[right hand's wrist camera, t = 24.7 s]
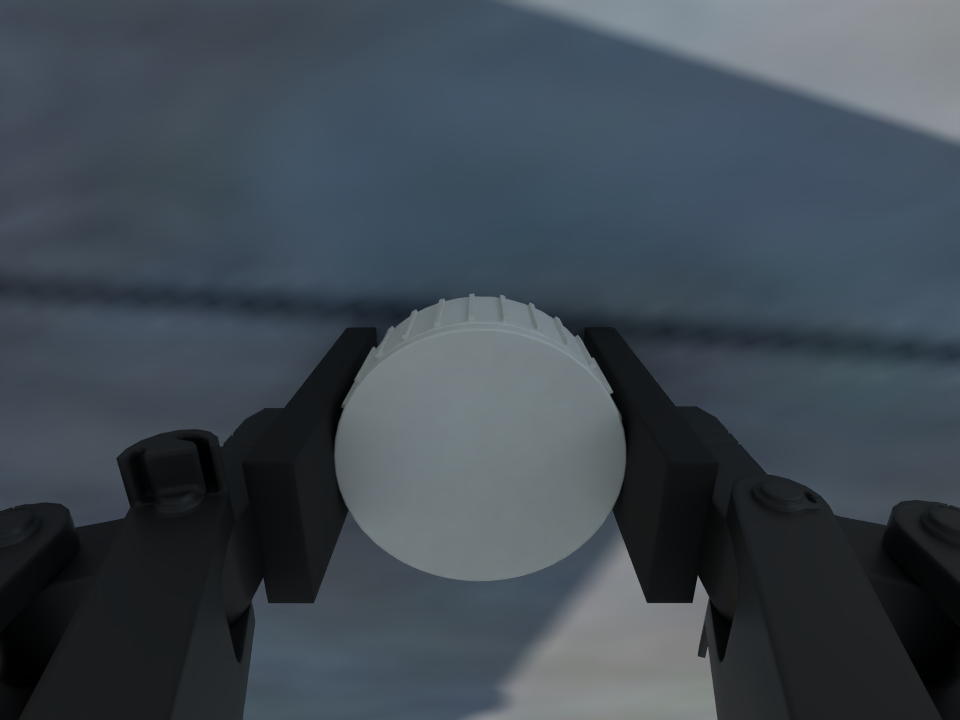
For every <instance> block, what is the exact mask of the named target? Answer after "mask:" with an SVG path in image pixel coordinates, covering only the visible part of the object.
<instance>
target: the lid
mask: <svg viewBox="0 0 960 720" xmlns="http://www.w3.org/2000/svg"><path fill="white" fill-rule="evenodd" d="M354 381H355V382H354V384H353V385H352V387H351V389H350V391H349V393H348V394H347V396H346V398H345V400H344V402H343V404H342V406H341V408H344V410H343V412H342V415H341V417H340V420H339V422H338V427H337V431H336V436H335V444H334V462H335V471H336V477H337V482H338V486H339V489H340V492H341V494H342V497H343V499H344V502H345V504H346V506H347V508H348V510H349V511H350V513H351V515H352V516H353V518H354V520H355V521H356V522H357V523H358V525H359V526H360V527H361V529H362V530H363V531H364V532H365V533H366V534H367V535H368V536H369V537H370V538H371V539H372V540H373V541H374V542H375V543H376V544H377V545H378V546H380V547H381V548H382V549H383V550H385V551H386V552H387V553H389V554H390V555H392V556H393V557H395V558H397V559H398V560H400V561H402V562H403V563H405V564H408V565H410V566H412V567H414V568H416V569H418V570H421V571H424V572H427V573H430V574H433V575H437V576H441V577H445V578H450V579H457V580H465V581H494V580H504V579H510V578H515V577H520V576H523V575H527V574H530V573H533V572H537V571H539V570H541V569H544V568H546V567H548V566H551V565H553V564H555V563H557V562H558V561H560V560H562V559H564V558H566V557H567V556H569V555H570V554H571V553H573V552H574V551H576V550H577V549H578V548H580V547H581V546H582V545H583V544H584V543H585V542H586V541H588V540H589V539H590V538H591V537H592V536H593V535H594V534H595V532H596V531H597V530H598V529H599V528H600V527H601V525H602V524H603V523H604V521H605V520H606V518H607V517H608V515H609V514H610V512H611V511H612V509H613V507H614V505H615V502H616V500H617V498H618V496H619V494H620V490H621V487H622V484H623V480H624V475H625V468H626V457H627V454H626V439H625V433H624V428H623V425H622V420H623V419H622V416H621V414H620V412H619V410H618V408H617V407H616V405H615V403H614V401H613V399H612V397H611V396H610V394H611V393H613V391H612V389H611V387H610V385H609V384H608V382H607V380H606V378H605V376H604V375H603V373H602V371H601V369H600V368H599V366H598V364H597V362H596V361H595V359H594V357H593V358H591V356H590V354H589V353H588V351H587V349H586V347H585V345H584V344H583V342H582V340H581V338H580V337H579V336H578V335H577V336H575V337H574V336H573V335H572V334H571V333H570V332H569V331H568V329H566V328H565V327H564V326H563V325H562V323H561V321H560V319H559V318H558V317H555V318H552V317H550V316H549V315H547V314H545V313H544V312H542V311H540V310H538V309H535V306H534V304H532V303H529V305H526V304H523V303H520V302H516V301H513V300H509V299H505V296H504V295H500V298H497V297H479V296H475V294H469V297H464V298H456V299H452V300H448V301H445V299H444V298H443V299H440V300H439V303H437V304H435V305H432V306H429V307H427V308H424V309H423V310H421V311H419V312H418V311H417V310H414V311H412V313H411V315H410V317H408V318H407V319H406V320H404V321H403V322H401V323H400V324H399V325H397V326H396V327H395V328H394V327H393V326H391V327H390V328H389V329H388V331H387V333H386V335H385V337H384V339H383V341H382V342H381V343H380V345H379V346H378V347H377V348H375V347H373V348H372V349H371V351H370V353H369V355H368V356H367V358H366V360H365V362H364V364H363V365H362V367H361V369H360V371H359V372H358V374H357V376H356V378H355V380H354Z"/></svg>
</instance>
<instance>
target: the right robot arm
mask: <svg viewBox="0 0 960 720" xmlns="http://www.w3.org/2000/svg"><path fill="white" fill-rule="evenodd" d="M584 345H585V347H586V349H587V351H588V353H589V354H590V356H591V358H593V357H594V359H595V361H596V362H597V364H598V366H599V368H600V369H601V371H602V373H603V375H604V376H605V378H606V380H607V382H608V384H609V385H610V387H611V389H612V391H613V393H611V394H610V396H611V397H612V399H613V401H614V403H615V405H616V407H617V408H618V410H619V412H620V414H621V416H622V419H623V420H622V425H623V428H624V433H625V439H626V454H627V457H626V468H625V475H624V480H623V484H622V487H621V490H620V494H619V496H618V498H617V500H616V502H615V505H614V507H613V509H612V510H613V513H614V516H615V518H616V521H617V524H618V526H619V529H620V532H621V534H622V537H623V540H624V542H625V545H626V548H627V550H628V553H629V556H630V558H631V561H632V564H633V566H634V569H635V572H636V574H637V577H638V580H639V582H640V585H641V588H642V590H643V593H644V596H645V598H646V601H647V603H693V597H694V592H695V587H696V582H697V577H698V576H699V578H700V580H701V582H702V584H703V586H704V588H705V590H706V592H707V594H708V595H709V601H708V606H707V610H706V615H705V620H704V625H703V630H702V635H701V640H700V644H699V651H698V656H699V657H703V658H705V656H706V651H707V647H708V649H709V656H710V664H711V672H712V679H713V687H714V695H715V703H716V710H717V718H718V720H960V508H957V507H954V506H951V505H950V506H948V505H947V504H943V503H939V502H927V501H919V500H913V501H904V502H900V503H899V504H897V505H896V506H894V507H893V509H892V512H891V515H890V518H889V520H888V523H887V526H886V525H881V524H875V523H870V522H865V521H860V520H854V519H849V518H844V517H839V516H835V515H834V514H833V512H832V510H831V508H830V506H829V505H828V504H827V503H826V502H825V500H824V499H823V498H822V497H821V496H820V495H819V494H817V493H815V492H814V491H812V490H811V489H809V488H808V487H806V486H804V485H802V484H799V483H797V482H794V481H792V480H790V479H786V478H782V477H778V476H773V475H767V474H766V472H765V471H764V470H763V469H762V468H761V467H760V466H759V465H758V464H757V462H756V461H755V460H754V459H753V458H752V457H751V456H750V455H749V454H748V452H747V451H746V450H745V449H744V448H743V447H742V446H741V445H738V441H737V440H736V439H735V438H734V437H733V436H732V435H731V434H730V433H728V430H727V429H726V428H725V427H724V426H723V425H722V424H721V423H720V421H719V420H718V419H717V418H716V417H714V416H712V415H710V414H709V413H707V412H705V411H703V410H702V409H700V408H698V407H676V406H675V405H674V404H673V403H672V401H671V400H670V399H669V397H668V396H667V395H666V394H665V392H664V391H663V390H662V388H661V387H660V386H659V385H658V383H657V382H656V381H655V379H654V378H653V377H652V376H651V374H650V373H649V372H648V370H647V369H646V368H645V367H644V365H643V364H642V363H641V362H640V360H639V359H638V358H637V356H636V355H635V354H634V353H633V351H632V350H631V349H630V347H629V346H628V345H627V344H626V342H625V341H624V340H623V338H622V337H621V336H620V335H619V333H618V332H617V331H616V329H615V328H585V341H584ZM373 347H375V348H377V339H376V328H346V330H345V331H344V332H343V334H342V335H341V336H340V337H339V339H338V340H337V341H336V343H335V344H334V345H333V346H332V348H331V349H330V350H329V351H328V353H327V354H326V355H325V357H324V358H323V359H322V360H321V362H320V363H319V364H318V366H317V367H316V368H315V369H314V371H313V372H312V373H311V375H310V376H309V377H308V378H307V380H306V381H305V382H304V383H303V385H302V386H301V387H300V389H299V390H298V391H297V392H296V394H295V395H294V396H293V398H292V399H291V400H290V401H289V403H288V404H287V405H286V406H285V408H265V409H263V410H261V411H259V412H258V413H256V414H254V415H252V416H251V417H249V418H247V419H245V420H244V422H243V423H242V424H241V425H240V426H239V427H238V428H237V429H236V430H235V432H234V433H233V435H231V436H230V437H229V438H228V439H227V440H226V442H225V443H224V446H223V447H220V445H219V441H218V437H217V436H215V435H214V434H213V433H211V432H209V431H203V430H198V429H193V430H177V431H172V432H167V433H162V434H158V435H156V436H153V437H150V438H147V439H144V440H141V441H140V442H138V443H136V444H134V445H132V446H131V447H129V448H127V449H126V450H125V451H124V452H123V453H121V454H120V455H119V456H118V457H117V458H116V459H117V462H118V465H119V469H120V472H121V476H122V479H123V483H124V486H125V490H126V493H127V496H128V500H129V503H130V509H129V511H128V513H127V515H126V517H125V518H123V519H119V520H114V521H109V522H103V523H98V524H93V525H87V526H82V527H77V528H75V526H74V523H73V520H72V517H71V514H70V511H69V509H67V508H66V507H64V506H63V505H61V504H55V503H46V502H45V503H37V504H29V505H28V504H25V505H21V506H16V507H15V508H13V509H12V508H9V509H6V510H3V511H0V720H243V712H244V704H245V696H246V689H247V681H248V673H249V665H250V658H251V650H252V642H253V635H254V627H255V617H254V610H253V606H252V601H251V600H252V598H253V596H254V594H255V592H256V590H257V588H258V586H259V585H260V583H261V581H262V579H263V577H264V582H265V588H266V593H267V598H268V603H314V601H315V598H316V596H317V593H318V590H319V588H320V585H321V582H322V580H323V577H324V574H325V572H326V569H327V566H328V564H329V561H330V558H331V556H332V553H333V550H334V548H335V545H336V542H337V540H338V537H339V534H340V532H341V529H342V526H343V524H344V521H345V518H346V516H347V513H348V508H347V506H346V504H345V502H344V499H343V497H342V494H341V492H340V489H339V486H338V482H337V477H336V471H335V462H334V444H335V436H336V431H337V427H338V422H339V420H340V417H341V415H342V412H343V410H344V408H341V406H342V404H343V402H344V400H345V398H346V396H347V394H348V393H349V391H350V389H351V387H352V385H353V384H354V382H355V381H354V380H355V378H356V376H357V374H358V372H359V371H360V369H361V367H362V365H363V364H364V362H365V360H366V358H367V356H368V355H369V353H370V351H371V349H372V348H373Z"/></svg>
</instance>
